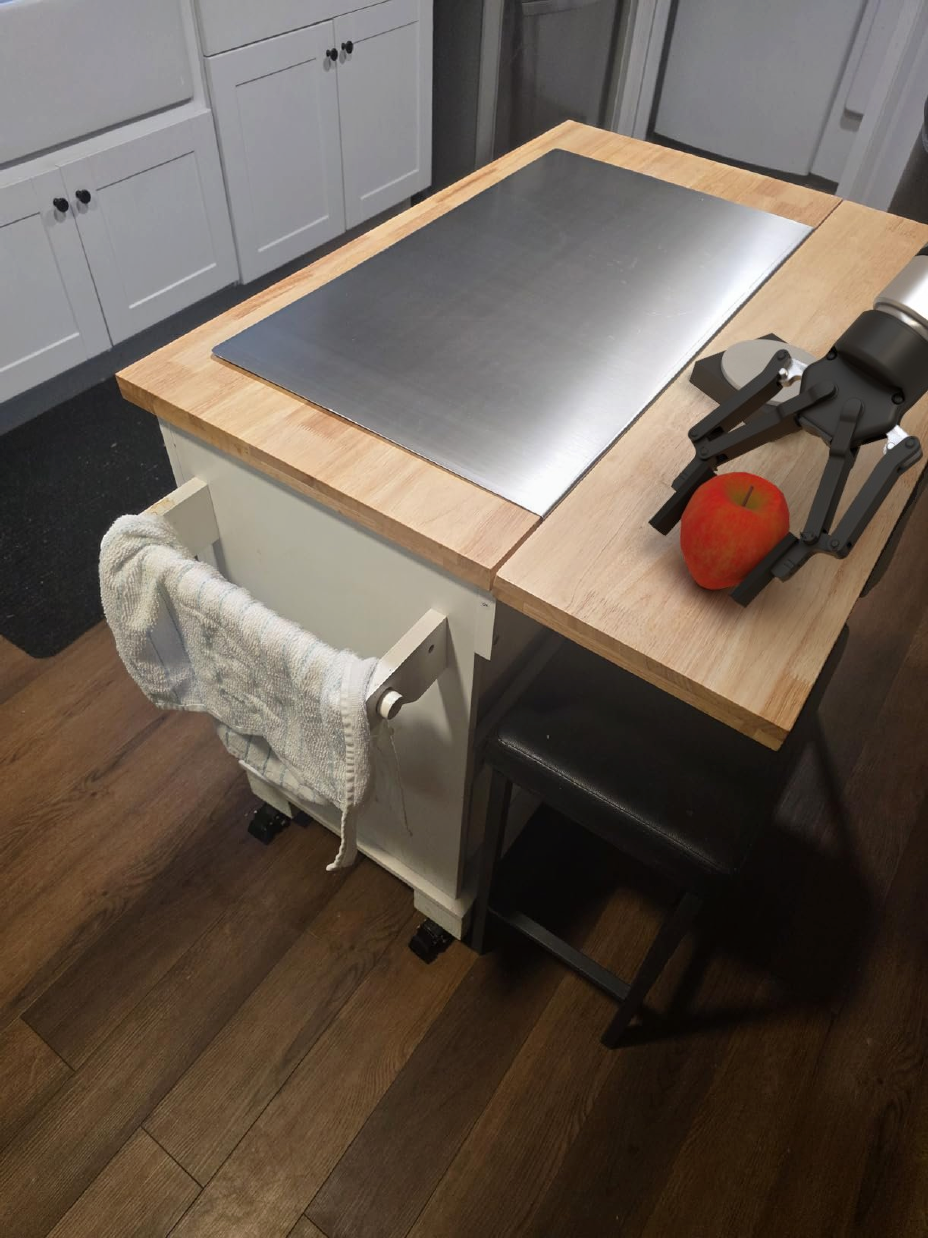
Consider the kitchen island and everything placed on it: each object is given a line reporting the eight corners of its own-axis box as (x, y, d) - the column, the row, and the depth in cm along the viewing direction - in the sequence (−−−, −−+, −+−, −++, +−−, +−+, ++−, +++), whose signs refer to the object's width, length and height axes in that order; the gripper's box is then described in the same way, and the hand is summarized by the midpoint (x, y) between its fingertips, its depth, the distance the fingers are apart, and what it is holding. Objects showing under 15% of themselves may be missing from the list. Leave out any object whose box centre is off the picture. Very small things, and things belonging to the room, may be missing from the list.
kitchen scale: (848, 409, 93) (860, 384, 91) (772, 443, 88) (782, 418, 86) (764, 351, 100) (773, 327, 97) (688, 381, 95) (696, 356, 92)
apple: (730, 637, 71) (775, 542, 63) (642, 584, 74) (674, 487, 66) (776, 580, 76) (824, 485, 67) (692, 533, 79) (728, 437, 71)
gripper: (1035, 434, 63) (805, 661, 68) (808, 295, 74) (626, 500, 79) (1035, 393, 57) (783, 646, 62) (788, 247, 67) (592, 474, 73)
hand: (695, 564), depth 71 cm, fingers open, 9 cm apart
